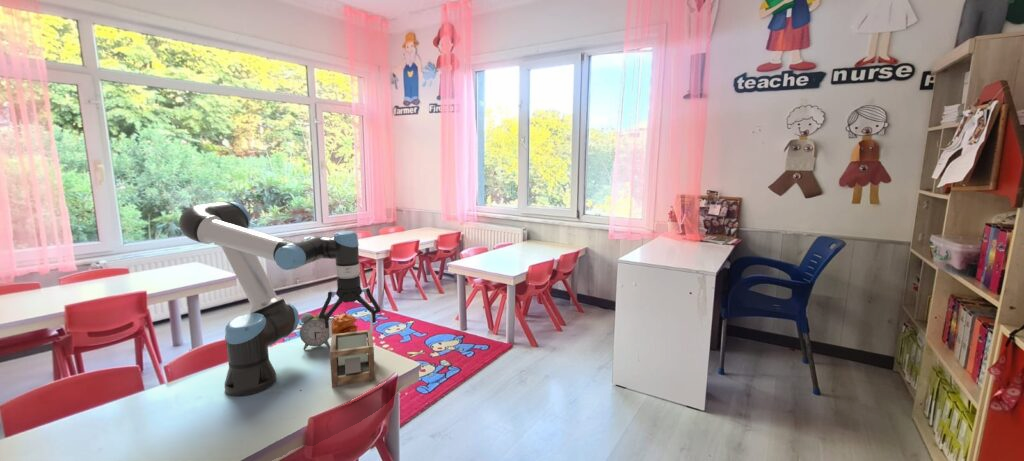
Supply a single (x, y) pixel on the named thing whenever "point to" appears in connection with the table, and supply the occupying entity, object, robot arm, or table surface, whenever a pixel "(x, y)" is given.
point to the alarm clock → (314, 330)
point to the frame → (347, 352)
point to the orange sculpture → (343, 324)
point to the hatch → (352, 343)
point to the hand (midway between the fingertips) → (351, 333)
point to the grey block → (352, 366)
